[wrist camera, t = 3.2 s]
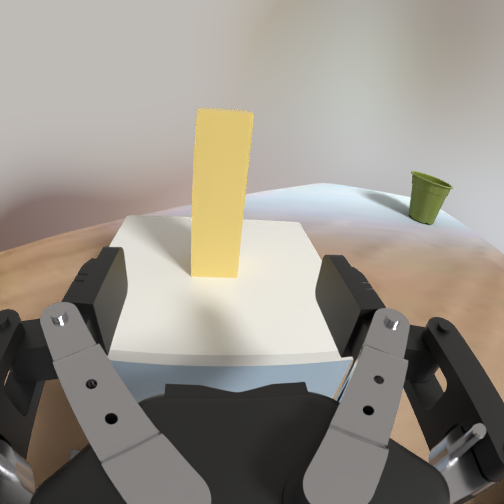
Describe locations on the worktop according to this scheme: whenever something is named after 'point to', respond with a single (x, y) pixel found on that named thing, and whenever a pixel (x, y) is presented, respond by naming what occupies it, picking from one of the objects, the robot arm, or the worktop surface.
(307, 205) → the worktop surface
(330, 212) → the worktop surface
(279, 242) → the lid
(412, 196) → the plant pot
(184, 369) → the tub
